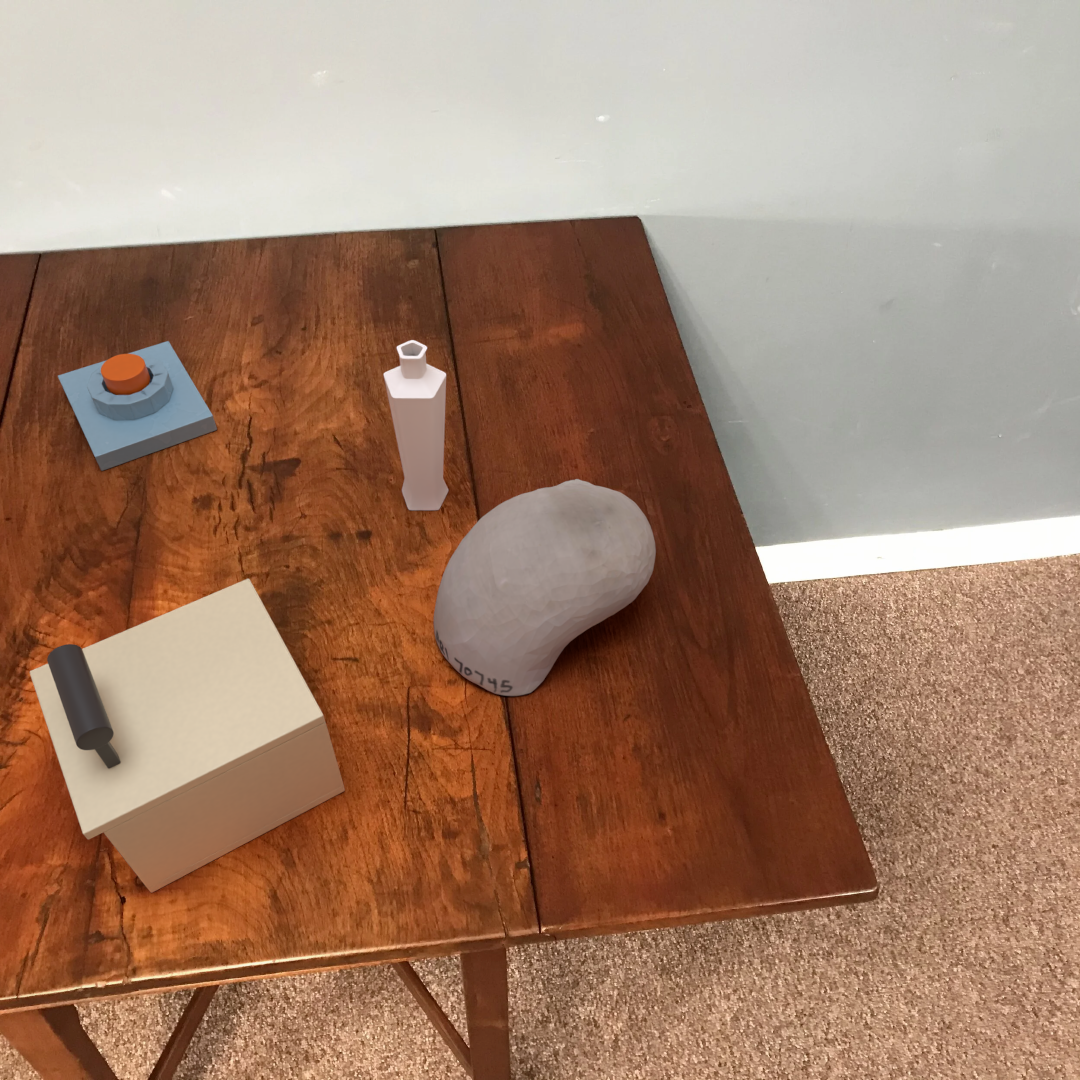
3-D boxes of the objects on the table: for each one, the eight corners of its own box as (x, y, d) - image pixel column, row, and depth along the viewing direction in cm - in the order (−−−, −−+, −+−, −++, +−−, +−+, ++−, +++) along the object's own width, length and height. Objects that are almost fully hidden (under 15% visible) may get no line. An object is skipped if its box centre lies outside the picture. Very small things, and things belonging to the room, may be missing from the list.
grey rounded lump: (630, 665, 76) (668, 484, 72) (622, 736, 62) (667, 518, 59) (448, 627, 77) (477, 448, 74) (401, 688, 64) (433, 472, 60)
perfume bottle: (453, 474, 79) (445, 329, 68) (451, 513, 77) (443, 367, 65) (398, 474, 79) (381, 328, 68) (395, 513, 76) (376, 367, 65)
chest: (151, 893, 56) (103, 833, 49) (96, 744, 62) (47, 672, 56) (345, 790, 61) (325, 722, 54) (276, 661, 67) (251, 585, 60)
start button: (113, 401, 79) (107, 385, 78) (101, 377, 81) (95, 361, 80) (156, 387, 81) (150, 371, 79) (143, 364, 83) (137, 348, 81)
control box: (101, 471, 78) (87, 440, 76) (64, 390, 85) (49, 359, 82) (217, 430, 82) (207, 399, 79) (173, 355, 89) (163, 324, 86)
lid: (87, 840, 49) (52, 798, 45) (33, 678, 55) (-2, 629, 51) (325, 722, 54) (312, 675, 50) (251, 585, 60) (234, 534, 56)
